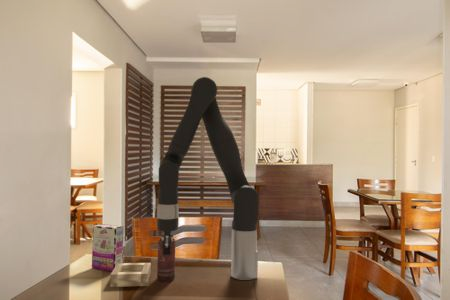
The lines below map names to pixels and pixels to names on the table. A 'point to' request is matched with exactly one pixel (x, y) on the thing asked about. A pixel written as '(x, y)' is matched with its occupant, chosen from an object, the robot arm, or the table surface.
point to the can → (166, 262)
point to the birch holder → (130, 274)
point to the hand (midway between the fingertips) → (167, 265)
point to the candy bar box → (107, 246)
